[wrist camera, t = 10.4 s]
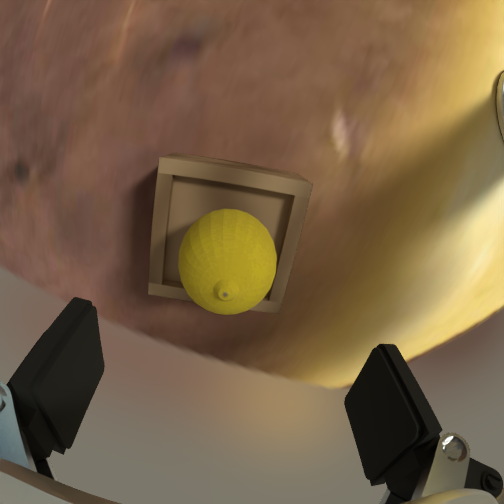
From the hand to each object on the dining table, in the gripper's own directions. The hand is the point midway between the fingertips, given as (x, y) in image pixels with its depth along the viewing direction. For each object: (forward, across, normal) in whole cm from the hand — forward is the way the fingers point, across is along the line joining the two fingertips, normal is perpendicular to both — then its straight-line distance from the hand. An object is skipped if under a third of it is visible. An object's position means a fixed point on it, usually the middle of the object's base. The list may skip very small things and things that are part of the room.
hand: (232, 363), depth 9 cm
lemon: (+13, +1, 0) cm, 13 cm away
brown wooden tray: (+17, +1, +1) cm, 17 cm away
